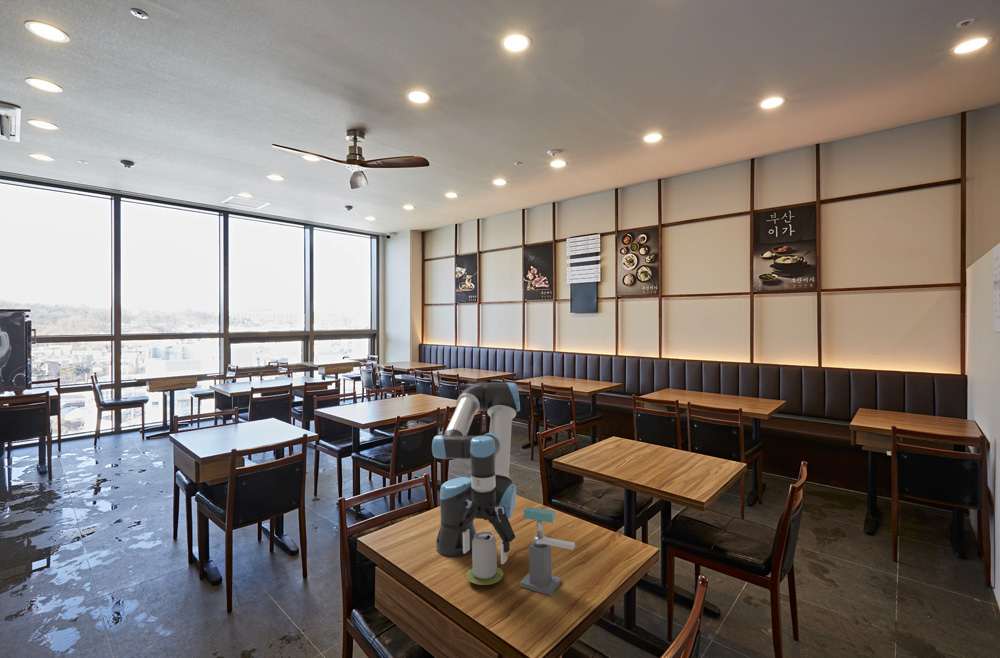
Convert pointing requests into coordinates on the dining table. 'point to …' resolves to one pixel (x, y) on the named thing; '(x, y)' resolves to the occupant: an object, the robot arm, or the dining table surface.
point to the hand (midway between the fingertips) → (484, 556)
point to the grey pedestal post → (540, 571)
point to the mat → (476, 580)
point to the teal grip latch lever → (540, 538)
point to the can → (484, 555)
